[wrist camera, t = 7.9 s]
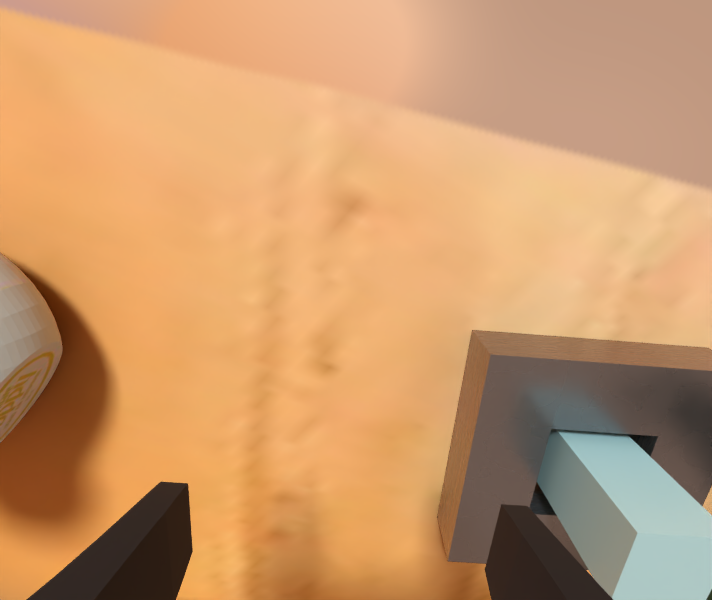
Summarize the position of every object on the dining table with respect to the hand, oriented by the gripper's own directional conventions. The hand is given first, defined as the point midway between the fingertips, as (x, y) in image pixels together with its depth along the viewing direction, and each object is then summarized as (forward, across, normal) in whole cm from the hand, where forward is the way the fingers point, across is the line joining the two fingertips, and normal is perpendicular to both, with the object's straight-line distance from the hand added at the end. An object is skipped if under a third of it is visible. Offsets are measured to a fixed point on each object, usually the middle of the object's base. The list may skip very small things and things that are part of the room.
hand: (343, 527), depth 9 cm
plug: (+9, -11, +4) cm, 15 cm away
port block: (+9, -11, +4) cm, 15 cm away
